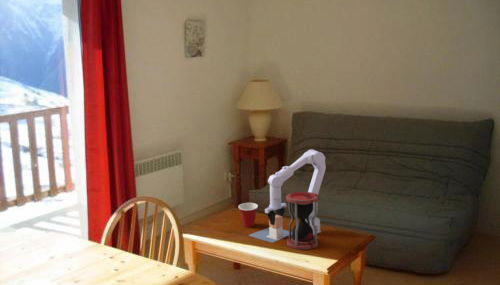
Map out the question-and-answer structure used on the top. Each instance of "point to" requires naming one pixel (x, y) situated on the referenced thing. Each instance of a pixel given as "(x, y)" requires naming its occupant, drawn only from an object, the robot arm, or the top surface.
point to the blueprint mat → (265, 235)
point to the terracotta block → (277, 221)
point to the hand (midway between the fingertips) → (275, 223)
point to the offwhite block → (275, 232)
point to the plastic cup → (248, 213)
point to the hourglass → (302, 220)
